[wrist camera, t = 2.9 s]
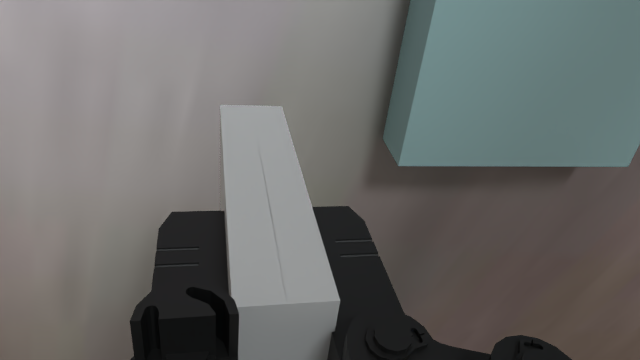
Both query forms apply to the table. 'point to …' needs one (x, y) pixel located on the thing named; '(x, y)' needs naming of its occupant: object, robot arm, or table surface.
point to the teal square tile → (517, 84)
